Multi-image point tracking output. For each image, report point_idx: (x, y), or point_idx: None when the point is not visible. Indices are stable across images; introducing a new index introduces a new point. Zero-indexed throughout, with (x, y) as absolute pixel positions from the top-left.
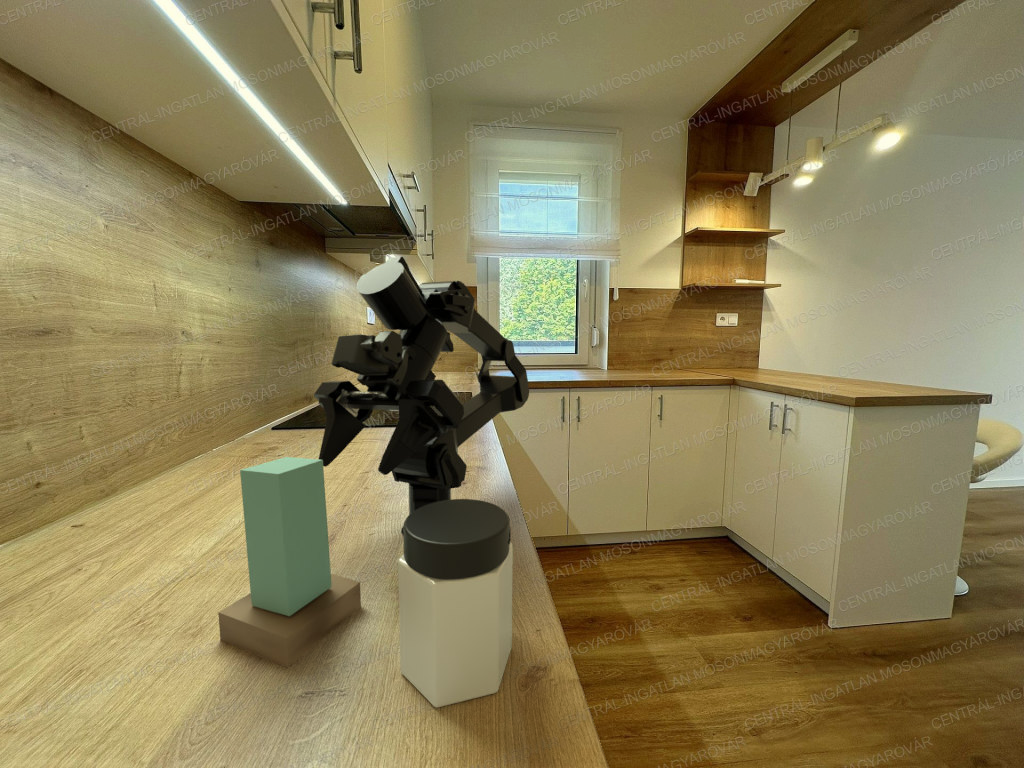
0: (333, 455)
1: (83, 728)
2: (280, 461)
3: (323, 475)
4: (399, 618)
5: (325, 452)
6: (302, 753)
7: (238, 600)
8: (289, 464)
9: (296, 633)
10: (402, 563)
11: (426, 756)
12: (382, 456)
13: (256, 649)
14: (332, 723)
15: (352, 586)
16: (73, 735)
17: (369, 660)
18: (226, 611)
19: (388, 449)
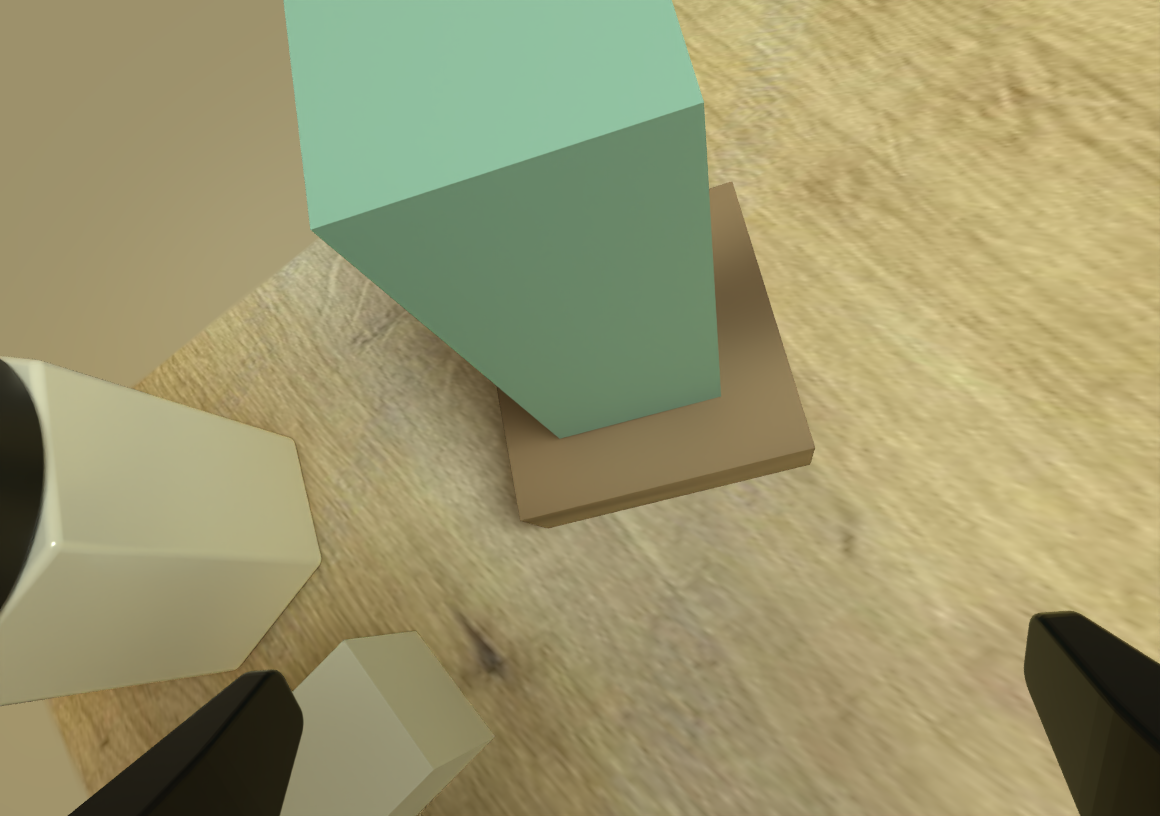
0: (1097, 804)
1: None
2: (578, 21)
3: (374, 279)
4: (194, 408)
5: (1099, 702)
6: (324, 243)
7: (745, 232)
8: (429, 37)
9: None
10: (20, 358)
11: (167, 363)
12: (203, 747)
13: None
14: (326, 297)
15: (520, 490)
16: None
17: (376, 421)
18: (717, 197)
19: (113, 810)
